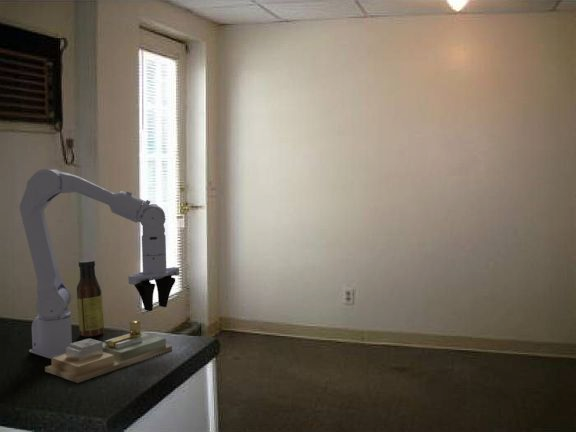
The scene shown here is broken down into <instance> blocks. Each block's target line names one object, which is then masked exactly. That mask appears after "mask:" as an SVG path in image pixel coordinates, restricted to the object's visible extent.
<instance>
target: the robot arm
mask: <svg viewBox="0 0 576 432" xmlns="http://www.w3.org/2000/svg"><path fill="white" fill-rule="evenodd" d="M71 193H77V194H78V195H79V194H80V195H81V196H84V197H87V198H90V199H92V200H95V201H98V202H99V203H103V204H105V205H108V207H109V209H110V211H111V213H112V214H115V215H117V216H118V217H119V216H120V217H122V218H124V219H126V220H129V221H131V222H133V223H140V224H141V226H142V235H141V253H142V254H141V258H142V259H141V260H142V262H141V263H142V271H141V272H138V273H135V274H132V275H128V279H127V280H128V285H134V287H135V289H136V290H137V292H138V294H139V296H140V298H141V301H142V304H143V305H142V306H143V308H144V311H148V312H152V311H153V308H154V293H155V292H154V291H155V287H156V290H157V299H158V306H159V307H162V308H167V306H168V301H169V297H170V294H171V291H172V289H173V286H174V285H175V283H176V278H175V277H176V276H180V267H176V266H173V267H167V244H166V243H167V241H166V239H167V238H166V234H165V232H166V228H165V223H166V214H165V211H164V210H163V208H162V207H161V206H159V205H157V204H155V203H151V201H150V200H148V199H146V200H145V199H141V198H139V197H137V196H134V195H132V194H133V192H132V191H130V190H126V192H125V191H124V190H120V191H118V192H112V191H110V190H108V189H106V188H103V187H101V186H99V185H98V184H95V183H93V182H91V181H89V180H87V179H84V178H82V177H81V176H78V175H77V174H76V175H75V174H72V173H69V172H63V171H61V170H59V169H56V168H43V169H39V170H37V171H36V172H35V173H33V175H32V176H31V177H30V178H29V179H28V180H27V182H26V187H25V190H24V193H23V195H22V197H21V201H20V203H19V211H20V216H21V220H22V224H23V228H24V231H25V232H24V233H25V235H26V240H27V243H28V247H29V252H30V255H31V256H30V257H31V261H32V264H33V269H34V272H35V276H36V281H37V282H36V283H37V284H36V294H37V300H36V304H35V306H36V310H37V313H38V314H37V316H35V317H34V319H33V321H32V323H31V342H32V344H31V345H32V349H29V351H28V352H29V353H32V354H35V355H37V356H41V357H44V358H47V359H51V358H52V357H55V356H59V355H62V354H65V353H66V347H70V344H71V343H73V337H72V336H73V333H72V331H73V330H72V315H71V314H72V313H71V311H70V310H69V309H68V306H69V305H70V303H71V301H72V294H71V291H70V290H69V289H68V288H67V287H66V285H65V283H64V279H63V278H62V276H61V274H60V271H59V267H58V264H57V260H56V255H55V251H54V247H53V244H52V238H51V236H50V235H51V234H50V230H49V228H48V222H47V219H46V215H45V210H46V208H47V207H48V205H49V204H50V203H51V202H52V200H53V199H54V198H56V197H58V196H59V195H60V194H71ZM174 276H175V277H174ZM151 281H154V282H155V283H151Z"/></svg>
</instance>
